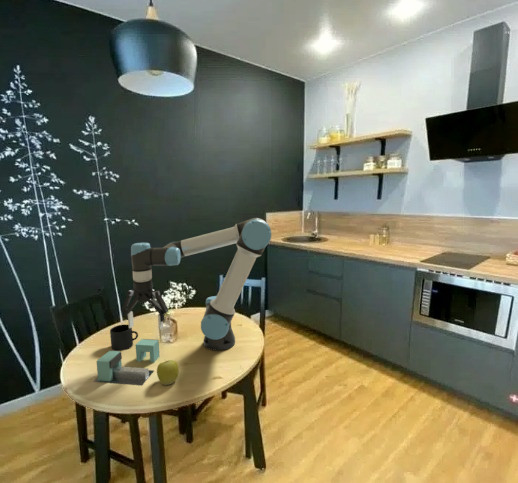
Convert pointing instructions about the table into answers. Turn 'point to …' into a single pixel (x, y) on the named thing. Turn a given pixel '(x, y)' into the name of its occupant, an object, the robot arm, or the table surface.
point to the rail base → (128, 375)
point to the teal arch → (147, 349)
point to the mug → (122, 337)
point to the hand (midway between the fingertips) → (146, 327)
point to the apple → (167, 372)
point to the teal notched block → (108, 365)
